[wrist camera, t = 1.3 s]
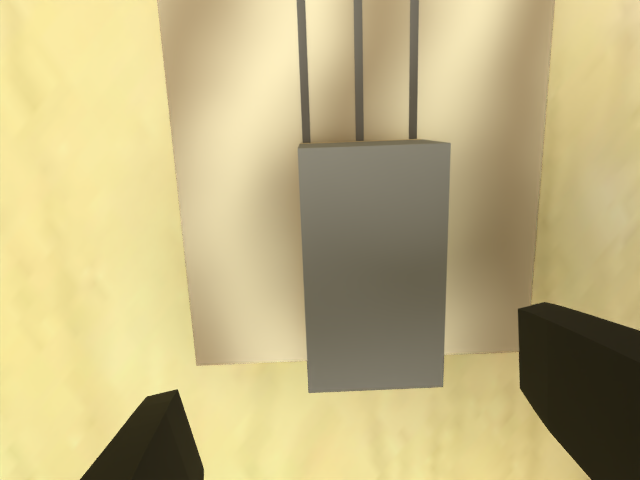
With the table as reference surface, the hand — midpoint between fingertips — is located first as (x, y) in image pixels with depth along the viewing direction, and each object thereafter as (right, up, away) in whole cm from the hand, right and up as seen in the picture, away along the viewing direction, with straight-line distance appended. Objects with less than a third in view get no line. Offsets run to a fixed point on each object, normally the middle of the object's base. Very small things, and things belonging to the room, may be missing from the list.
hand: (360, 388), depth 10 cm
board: (+1, +7, +9) cm, 11 cm away
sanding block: (+1, +3, +9) cm, 9 cm away
